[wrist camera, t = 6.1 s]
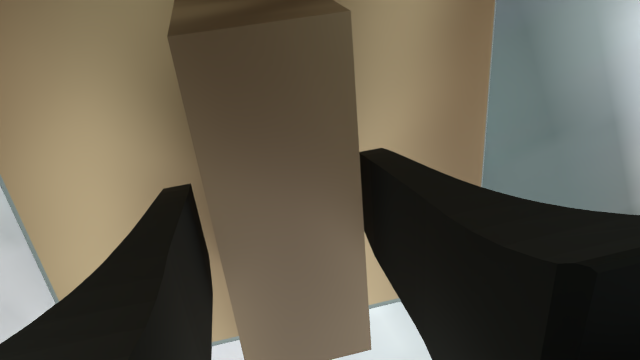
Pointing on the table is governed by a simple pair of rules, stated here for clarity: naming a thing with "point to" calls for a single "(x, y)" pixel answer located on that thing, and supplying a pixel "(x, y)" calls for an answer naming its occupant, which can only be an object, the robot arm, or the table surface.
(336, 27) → the oak lid
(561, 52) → the table surface
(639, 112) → the table surface
